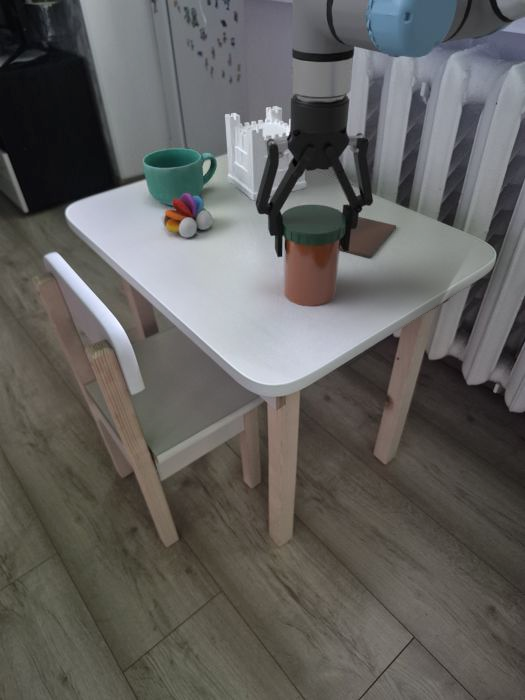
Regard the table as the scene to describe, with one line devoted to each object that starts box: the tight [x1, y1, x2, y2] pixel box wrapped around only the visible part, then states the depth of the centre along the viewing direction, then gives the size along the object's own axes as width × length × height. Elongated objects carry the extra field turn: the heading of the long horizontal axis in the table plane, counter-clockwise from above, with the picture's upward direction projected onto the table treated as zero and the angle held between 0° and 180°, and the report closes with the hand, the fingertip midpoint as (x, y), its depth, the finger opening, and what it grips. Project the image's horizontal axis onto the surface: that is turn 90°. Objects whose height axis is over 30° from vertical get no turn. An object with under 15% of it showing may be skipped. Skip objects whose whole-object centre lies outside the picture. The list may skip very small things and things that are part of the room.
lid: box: [281, 204, 346, 246], centre depth 73 cm, size 10×10×2 cm
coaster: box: [340, 216, 397, 259], centre depth 96 cm, size 14×14×1 cm
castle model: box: [224, 105, 308, 201], centre depth 111 cm, size 14×14×15 cm
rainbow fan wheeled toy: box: [161, 193, 214, 238], centre depth 96 cm, size 8×10×7 cm
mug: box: [142, 147, 218, 207], centre depth 107 cm, size 17×13×10 cm
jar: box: [282, 236, 341, 307], centre depth 77 cm, size 9×9×13 cm
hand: (311, 249), depth 76 cm, fingers closed on lid, 10 cm apart
